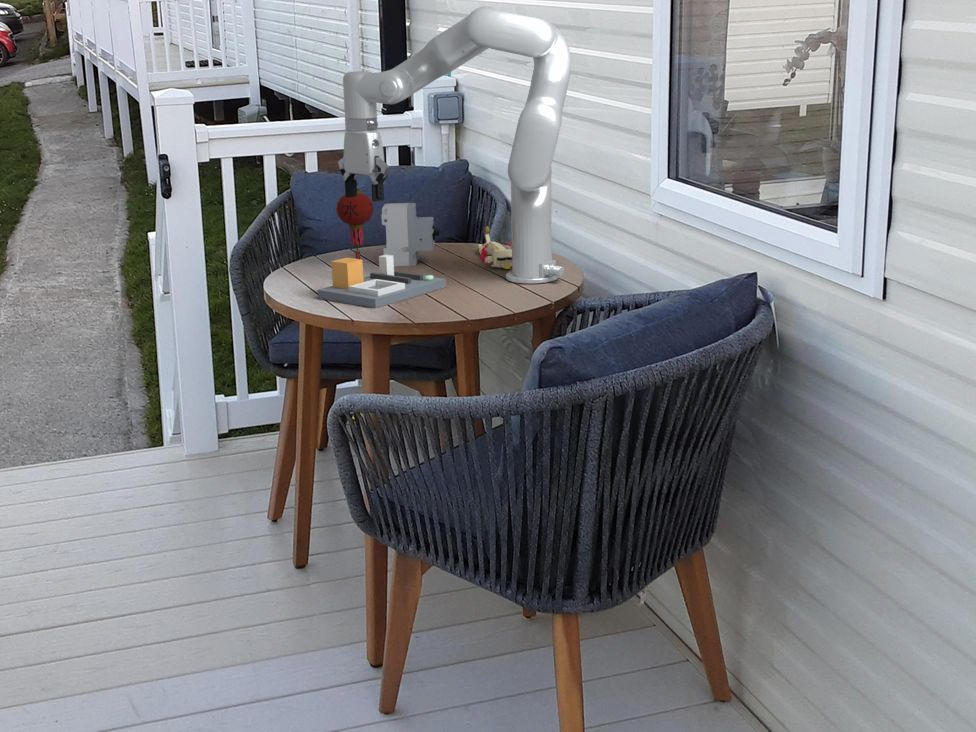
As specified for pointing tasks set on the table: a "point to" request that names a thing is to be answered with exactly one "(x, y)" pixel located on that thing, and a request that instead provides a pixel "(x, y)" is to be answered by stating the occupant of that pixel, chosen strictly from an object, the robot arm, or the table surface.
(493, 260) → the cat figure
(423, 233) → the circuit breaker
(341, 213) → the lantern
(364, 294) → the panel
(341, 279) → the lockout cap
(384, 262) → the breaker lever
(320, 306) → the table surface
